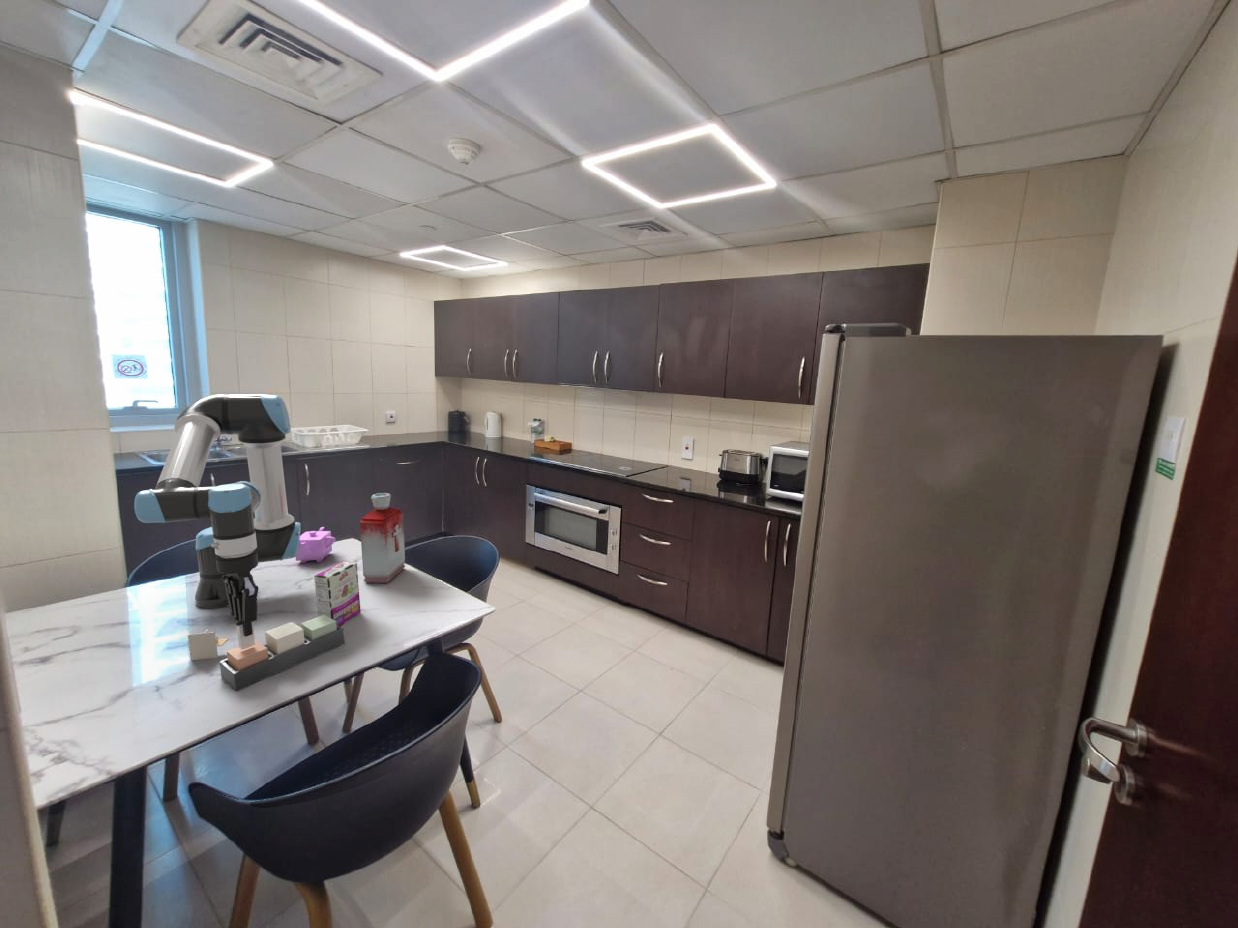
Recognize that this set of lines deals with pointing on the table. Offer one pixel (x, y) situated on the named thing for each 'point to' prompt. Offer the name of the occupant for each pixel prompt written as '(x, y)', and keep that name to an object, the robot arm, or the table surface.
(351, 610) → the candy bar box
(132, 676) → the table surface
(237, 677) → the grey compartment tray
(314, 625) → the sage key
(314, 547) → the teapot
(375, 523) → the bottle
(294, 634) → the ivory key
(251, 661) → the terracotta key
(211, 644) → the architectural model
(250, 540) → the robot arm
